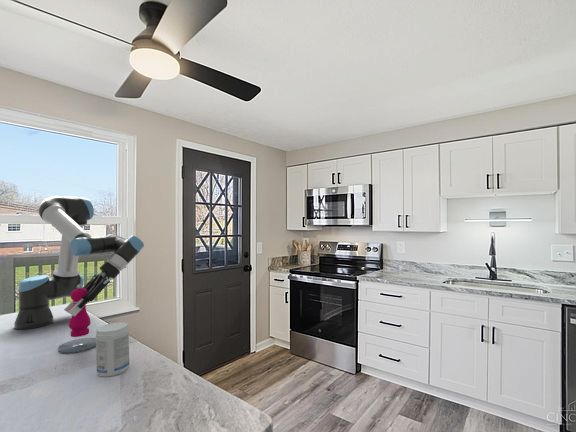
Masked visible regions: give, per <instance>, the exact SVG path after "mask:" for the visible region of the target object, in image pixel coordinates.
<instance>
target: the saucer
mask: <svg viewBox="0 0 576 432" xmlns="http://www.w3.org/2000/svg"><path fill="white" fill-rule="evenodd" d="M94 348H96V337H83V338H77V339H72V340H69V341H66V342H64V343H62V344H59V346H58V347H57V352H58V353H59V354H60V353H61V354H64V355H65V354H67V355H68V354H77V353H82V352H86V351H89V350H92V349H94Z"/></svg>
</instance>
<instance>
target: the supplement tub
mask: <svg viewBox="0 0 576 432" xmlns="http://www.w3.org/2000/svg"><path fill="white" fill-rule="evenodd" d="M129 331H130V330H129V323H127V322H121V321H119V322H110V323H107V324H102V325H101V326H98V327H96V331H95V338H96V347H95V350H96V352H95V354H96V359H95V360H96V374H97V375H98V376H99V377H101V378H103V377H106V378H109V377H114V376H117V375H120V374H123V373H124V372H125V371H127V370H128V369H129V368H130V338H129V337H130V336H129Z"/></svg>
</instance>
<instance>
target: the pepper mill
mask: <svg viewBox="0 0 576 432" xmlns="http://www.w3.org/2000/svg"><path fill="white" fill-rule="evenodd" d="M77 288H78V289H75V290H73V291H72V292H71V296H70V299H71V300H72V301H73V302H72V301H71V302H72V305H73V307H74V306H75V305H76V304H77V303H78V302H79V301H80V300H81V299H83V298H82V297H83V296H84V297H85V295H86V294H87V293H88V291H87V290H86V289H84V288H83V287H82V285H80V284H79V285H77ZM86 305H87V304H86ZM86 305H85V306H84V307H83V308H82V309H81V310H80V311H79V313H78V314H77V315H76V316H75V317H74V316H73V315H71V317H70V320H69V323H68V327H69V328H70V337H71V338H79V337H84V336H87V335H88V334H90V328H89V326H90V325H91V319H90V318H91V317H90V316H89V314H88V312H87V307H86Z"/></svg>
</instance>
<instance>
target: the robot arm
mask: <svg viewBox="0 0 576 432" xmlns="http://www.w3.org/2000/svg"><path fill="white" fill-rule="evenodd" d="M94 212H95V210H94V205H93V203H92V201H91V200H90V199H89V198H87V197H86V198H85V197H80V196H79V197H78V196H60V195H59V196H58V195H55V196H51V197H50V196H49V197H47V198H46V199H44V200H43V201H42V202H41V203H40V204H39V207H38V215H39V217H40V218H41V220H42V221H44V222H45V223H46V224H50V225H52V226H53V227H54V228H55V230H57V231H58V232H59V234H61V241H60V247H59V248H60V249H59V256H58V263H57V269H55V270H54V271H53V272H52V273H53V275H52V276H49V275H48V274H41V275H40V274H39V275H35V276H30V277H27V278H25V279H22V280H21V281H20V282H19V285H18V286H19V287H18V313H17V315H16V319H15V320H14V324H13V325H14V327H13V328H14V329H16V330H28V329H29V330H30V329H36V328H40V327H44V326H48V325H50V324H52V323H53V322H54V315H53V313H52V310H51V308H50V301H53V300H58V299H63V298H69V297H70V298H71V292H72V291H73V290H75V289H78V288H77V285H79V284H80V285H82V288H84V289H86V290H87V291H88V293H87V294H86V295H85V297H84V296H83V297H82V298H83V299H81V300H80V301H79V302H78V303H77V304H76V305H75V306H74V307H73V305H72V302H73V300H72V301H70V302H69V303H68V304H67V306H65V307H64V309H63V310H64V311H65V312H66V313H68V314H70V315H71V316H72V315H73V316H74V317H75V316H76V315H77V314H78V313H79V311H80V310H81V309H82V308H83V307H84V306H85V305H87V304H89V303H90V302H93V301H94V300H95V299H96V298H97V296H98V295H99V294H100V293H101V292H102V291H103V290H104V289H105V288H106V287H107V286H108V285H109V284H110V283H111V280H110V278H111V279H112V280H113V279H116V278H117V276H119V274H120V272H121V271H123V270H124V269H125V268H127V265H129V264H130V262H131V261H132V260H133V259H134V258H135V257H136V256H137V255H139V253H140V252H141V250H143V248H144V246H145V243H144V242H143V241H142V239H140V238H139V237H138V236H136V235H132V234H131V235H130V236H129V237H128V238H124V237H122V236H119V235H118V234H117V235H116V234H112V233H111V234H107V235H106V236H92V235H90V234H89V233H88V232H87V231H86V230H85V229H84V227H85V226H86V225H87V224H88V221H90V220H92V219H93V217H94ZM104 254H111V255H110V256H109V257H108V258H107V260H106V261H105V262H103V264H102V265H100V266H99V270H100V271H101V272H100V273H98V274H94V275H93V276H92V277H91V279H90V280H88V282H87V283H86V284H84V278H83V275H82V274H81V273H80V271H79V270H78V264H79V258H80V256H81V257H85V256H95V255H104Z"/></svg>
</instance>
